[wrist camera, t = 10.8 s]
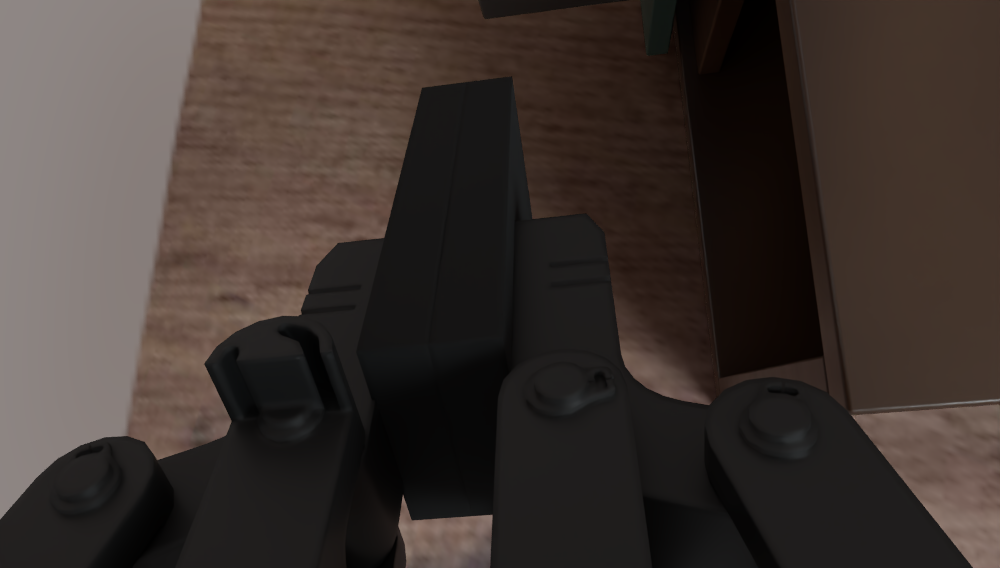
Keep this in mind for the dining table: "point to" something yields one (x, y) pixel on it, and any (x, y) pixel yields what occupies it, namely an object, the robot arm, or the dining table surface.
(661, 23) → the door
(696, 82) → the cupboard
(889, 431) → the dining table surface
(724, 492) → the robot arm
